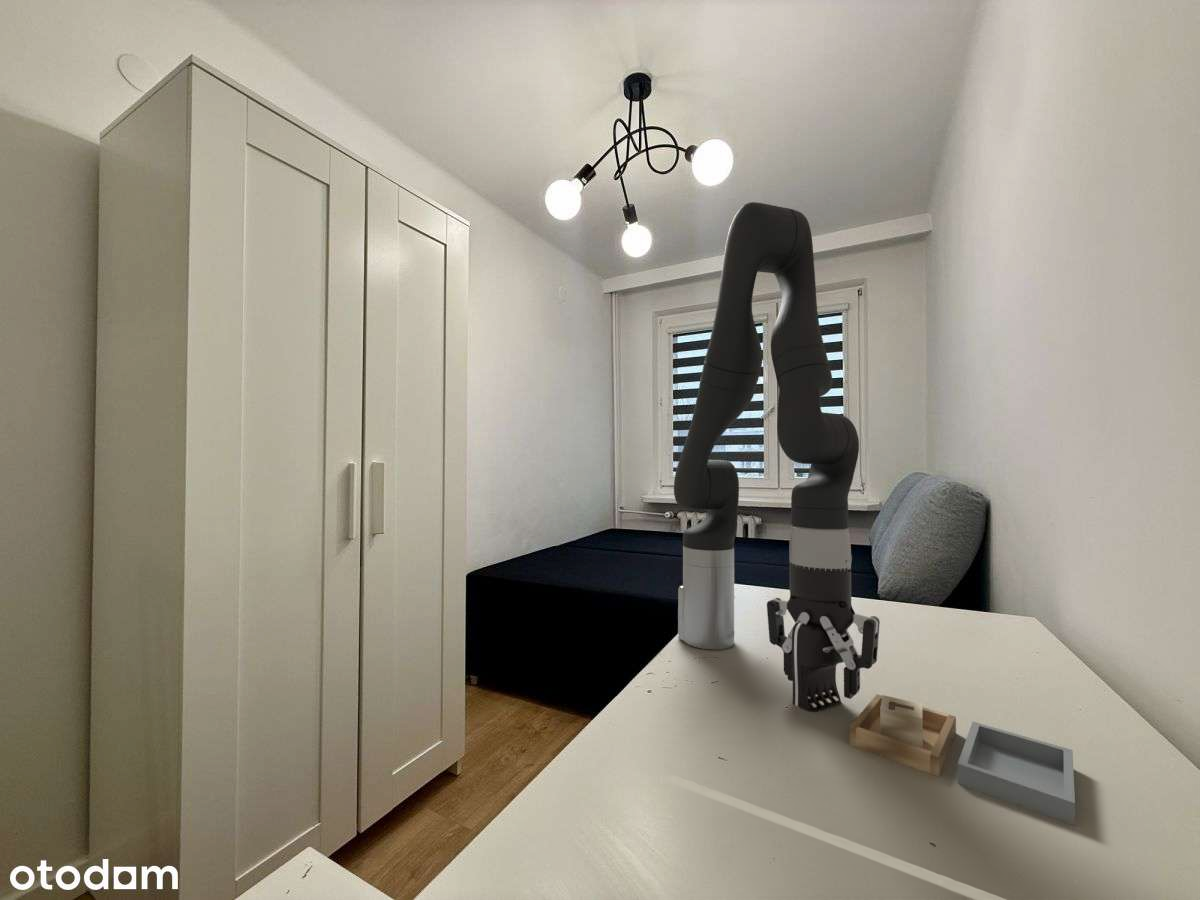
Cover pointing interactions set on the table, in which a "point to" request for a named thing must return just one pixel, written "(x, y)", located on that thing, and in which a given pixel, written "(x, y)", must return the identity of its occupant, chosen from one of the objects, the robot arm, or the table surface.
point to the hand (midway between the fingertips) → (820, 687)
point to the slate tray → (1019, 771)
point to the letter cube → (902, 720)
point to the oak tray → (928, 759)
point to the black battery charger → (814, 668)
